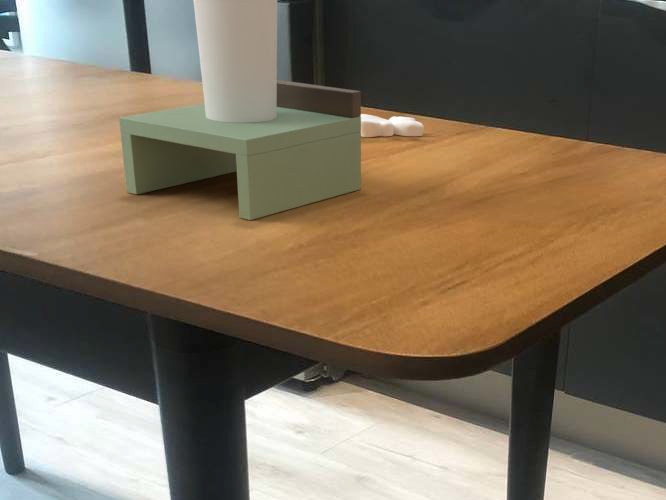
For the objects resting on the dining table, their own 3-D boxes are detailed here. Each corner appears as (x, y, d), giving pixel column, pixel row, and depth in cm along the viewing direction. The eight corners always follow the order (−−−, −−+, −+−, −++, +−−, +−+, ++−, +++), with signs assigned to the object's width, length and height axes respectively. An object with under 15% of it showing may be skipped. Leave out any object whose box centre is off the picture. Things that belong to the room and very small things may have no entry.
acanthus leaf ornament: (423, 137, 116) (424, 118, 115) (364, 140, 114) (364, 122, 113) (396, 124, 122) (397, 106, 121) (339, 127, 119) (339, 109, 119)
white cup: (183, 117, 88) (173, -20, 83) (236, 107, 93) (229, -23, 88) (247, 126, 85) (240, -15, 80) (298, 115, 90) (294, -18, 85)
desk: (250, 220, 84) (245, 111, 80) (126, 192, 91) (115, 90, 87) (361, 189, 94) (361, 91, 90) (242, 166, 101) (237, 74, 97)
